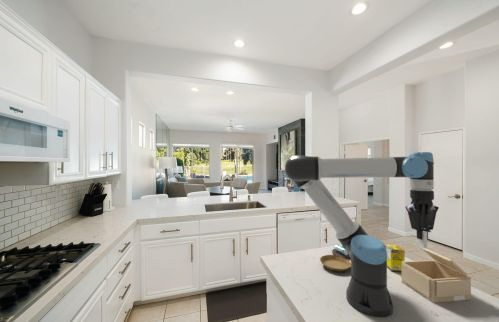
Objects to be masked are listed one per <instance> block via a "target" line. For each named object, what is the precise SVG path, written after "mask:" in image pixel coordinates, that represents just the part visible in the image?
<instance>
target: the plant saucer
mask: <svg viewBox="0 0 499 322" xmlns="http://www.w3.org/2000/svg"><path fill="white" fill-rule="evenodd" d="M319 261H320V262H321V264H322V265H323V266H324V267H325V268H326V269H328V270H330V271H333V272H338V273H339V272H345V271H348V269H351V260H350V259H348V258H343V257H340V256H336V255H334V254H326V255H322V256H320V257H319Z"/></svg>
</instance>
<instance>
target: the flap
mask: <svg viewBox="0 0 499 322" xmlns="http://www.w3.org/2000/svg"><path fill="white" fill-rule="evenodd" d="M420 248H421V250H422V251H424V252H425V254H427V255H428V256H429V257H431V258H432V260H435V261H437V262H439V263H441V264H443V265H445V266H447V267H450V268H452V269H454V270H456V271H458V272H460V273H462V274H464V275H466V276H468V273H467V272H466V271H465V270H464V269H462V268H461V267H460V266H459V265H458V264H457V263H456V262H454V260H452V259H450V258H448V257H446V256H443V255H441V254H439V253H436V252H435V251H433V250H430V249H428V248H422V247H420Z"/></svg>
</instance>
